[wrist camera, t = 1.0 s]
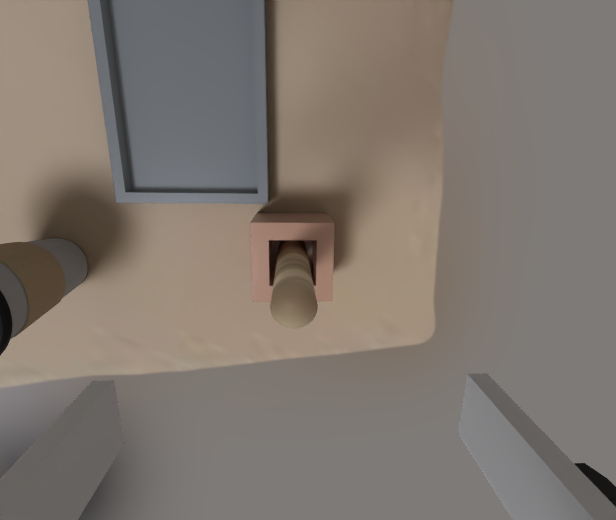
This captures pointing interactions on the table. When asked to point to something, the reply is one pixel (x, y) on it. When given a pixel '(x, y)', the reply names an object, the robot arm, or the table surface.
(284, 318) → the dowel
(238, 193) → the tray
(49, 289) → the coffee cup
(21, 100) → the table surface
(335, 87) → the table surface
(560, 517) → the robot arm
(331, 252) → the pink square tube
